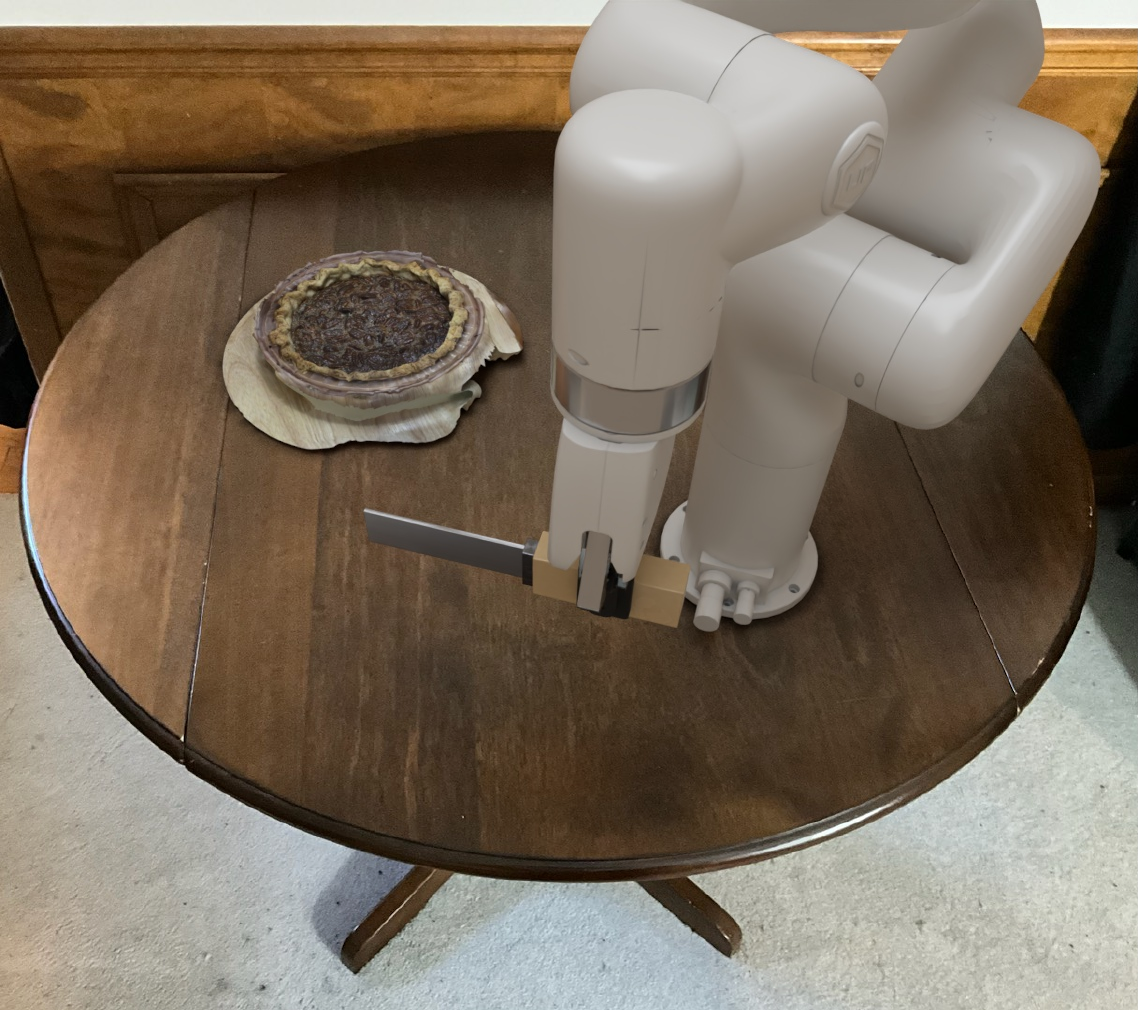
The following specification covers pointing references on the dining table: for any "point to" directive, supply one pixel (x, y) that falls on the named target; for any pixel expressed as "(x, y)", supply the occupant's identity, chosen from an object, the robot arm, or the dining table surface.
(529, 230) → the dining table surface
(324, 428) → the pie
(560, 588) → the knife
